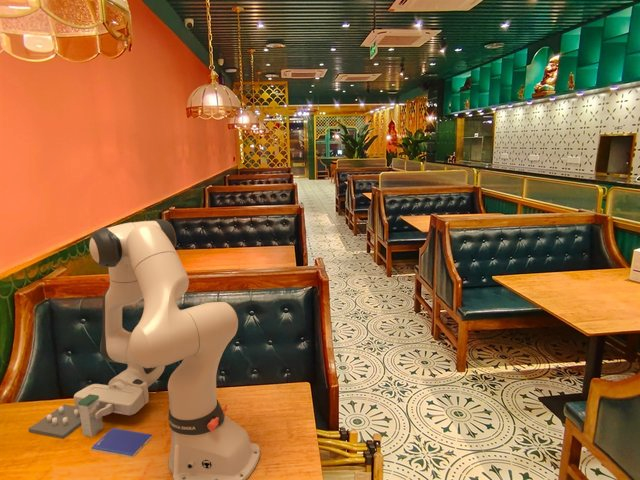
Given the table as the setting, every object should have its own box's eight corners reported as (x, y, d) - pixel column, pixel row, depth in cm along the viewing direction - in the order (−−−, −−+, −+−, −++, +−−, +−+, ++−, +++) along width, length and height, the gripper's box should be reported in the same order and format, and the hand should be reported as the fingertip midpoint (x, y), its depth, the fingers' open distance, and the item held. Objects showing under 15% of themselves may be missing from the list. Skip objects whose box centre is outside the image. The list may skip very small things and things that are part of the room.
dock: (97, 412, 126) (96, 403, 126) (63, 438, 115) (62, 428, 114) (64, 407, 130) (63, 398, 129) (28, 431, 118) (27, 422, 118)
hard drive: (90, 447, 110) (132, 454, 107) (113, 427, 118) (152, 433, 115) (91, 452, 110) (132, 459, 107) (113, 432, 118) (152, 438, 115)
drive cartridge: (103, 427, 119) (98, 395, 117) (92, 437, 116) (87, 403, 113) (94, 426, 120) (89, 394, 118) (83, 435, 116) (78, 402, 114)
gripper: (94, 375, 131) (55, 399, 118) (151, 383, 126) (117, 410, 113) (96, 393, 132) (59, 420, 119) (153, 402, 127) (120, 431, 114)
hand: (88, 415), depth 116 cm, fingers closed on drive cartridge, 3 cm apart
